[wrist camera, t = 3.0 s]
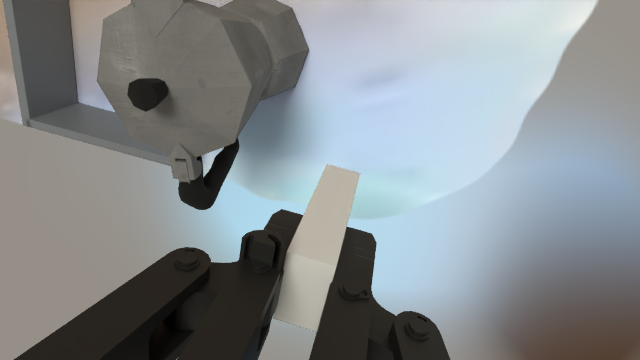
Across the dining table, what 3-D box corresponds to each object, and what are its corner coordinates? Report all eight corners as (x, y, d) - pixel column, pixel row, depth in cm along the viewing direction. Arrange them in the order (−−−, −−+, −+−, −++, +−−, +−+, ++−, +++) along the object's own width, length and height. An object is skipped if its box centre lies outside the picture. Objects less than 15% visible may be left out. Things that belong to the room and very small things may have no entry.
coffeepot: (199, -35, 33) (10, -57, 17) (308, -38, 32) (211, -65, 16) (221, 138, 40) (100, 237, 24) (312, 143, 38) (247, 253, 22)
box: (71, 107, 42) (23, 125, 36) (49, -117, 33) (-20, -138, 27) (203, 143, 40) (172, 166, 35) (217, -80, 31) (179, -94, 26)
